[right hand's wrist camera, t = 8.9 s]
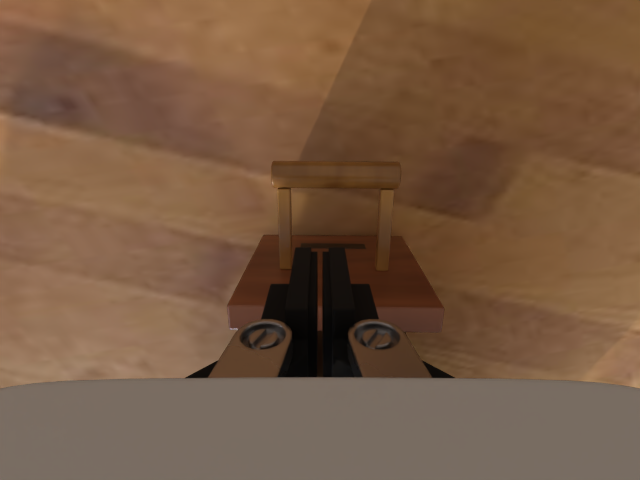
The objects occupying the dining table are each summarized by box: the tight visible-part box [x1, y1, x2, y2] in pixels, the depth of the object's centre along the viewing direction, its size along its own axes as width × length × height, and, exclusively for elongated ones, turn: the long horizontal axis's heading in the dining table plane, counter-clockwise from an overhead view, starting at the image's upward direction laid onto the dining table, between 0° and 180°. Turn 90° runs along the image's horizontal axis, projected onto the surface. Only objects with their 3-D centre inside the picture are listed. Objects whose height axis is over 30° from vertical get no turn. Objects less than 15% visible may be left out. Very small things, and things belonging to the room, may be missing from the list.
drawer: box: [227, 161, 444, 377], centre depth 20 cm, size 18×9×9 cm, turn 0°
